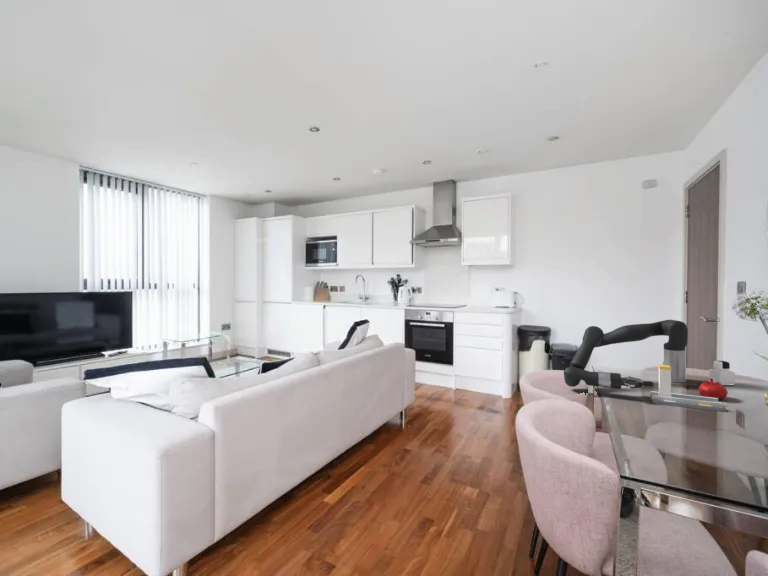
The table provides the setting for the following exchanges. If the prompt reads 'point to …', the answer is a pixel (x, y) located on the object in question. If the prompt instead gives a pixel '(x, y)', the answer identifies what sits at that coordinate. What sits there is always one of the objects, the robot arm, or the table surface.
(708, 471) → the table surface
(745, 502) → the table surface
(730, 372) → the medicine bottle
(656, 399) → the switch plate
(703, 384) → the red round fruit
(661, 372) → the switch tab
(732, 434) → the table surface
